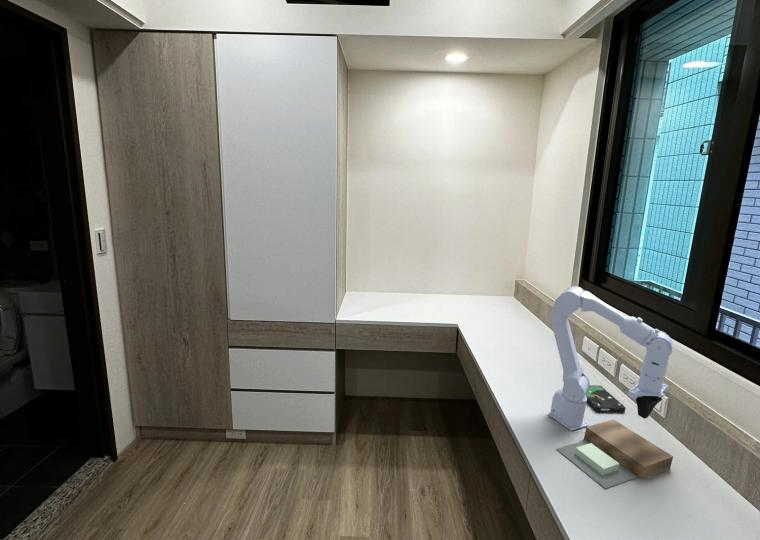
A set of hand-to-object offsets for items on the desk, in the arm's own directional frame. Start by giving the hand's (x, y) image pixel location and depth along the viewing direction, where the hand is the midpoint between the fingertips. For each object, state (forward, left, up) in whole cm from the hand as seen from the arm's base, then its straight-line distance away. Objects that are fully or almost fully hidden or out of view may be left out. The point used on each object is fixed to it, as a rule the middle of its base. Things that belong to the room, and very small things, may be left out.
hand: (642, 416), depth 119 cm
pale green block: (+1, -18, -8) cm, 20 cm away
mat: (+1, -19, -10) cm, 21 cm away
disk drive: (-22, +11, -11) cm, 27 cm away
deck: (+1, -6, -10) cm, 12 cm away
